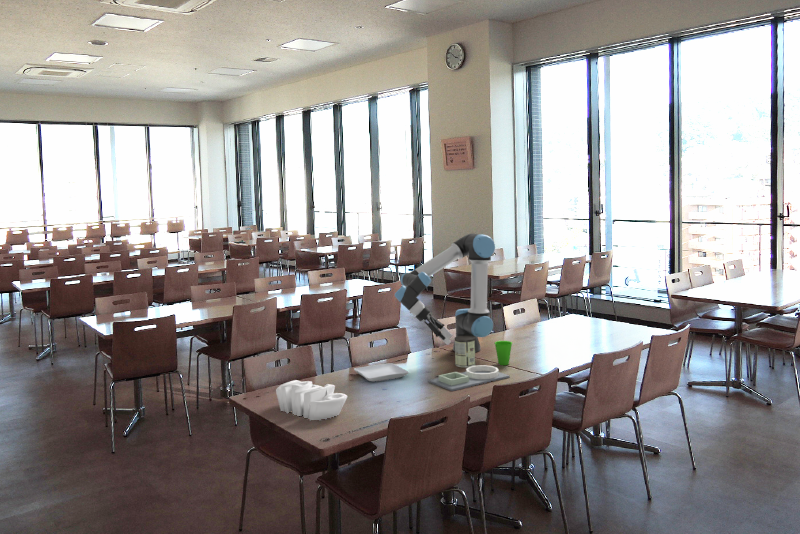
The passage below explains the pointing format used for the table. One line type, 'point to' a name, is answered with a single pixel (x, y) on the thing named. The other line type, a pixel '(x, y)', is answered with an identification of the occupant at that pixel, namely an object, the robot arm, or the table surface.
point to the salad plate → (381, 372)
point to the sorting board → (469, 377)
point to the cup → (503, 351)
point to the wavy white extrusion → (310, 400)
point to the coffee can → (465, 351)
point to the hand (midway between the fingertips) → (450, 340)
